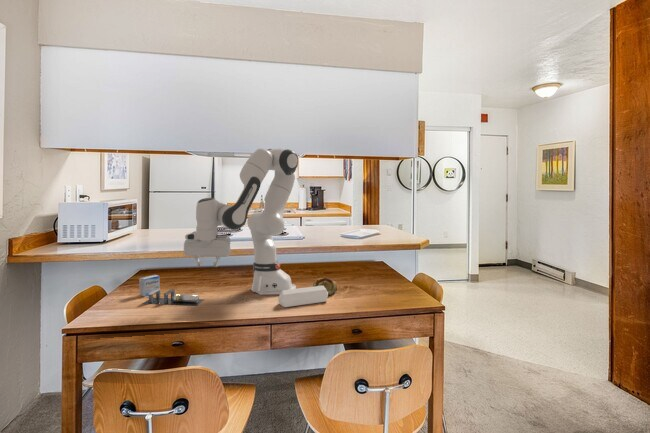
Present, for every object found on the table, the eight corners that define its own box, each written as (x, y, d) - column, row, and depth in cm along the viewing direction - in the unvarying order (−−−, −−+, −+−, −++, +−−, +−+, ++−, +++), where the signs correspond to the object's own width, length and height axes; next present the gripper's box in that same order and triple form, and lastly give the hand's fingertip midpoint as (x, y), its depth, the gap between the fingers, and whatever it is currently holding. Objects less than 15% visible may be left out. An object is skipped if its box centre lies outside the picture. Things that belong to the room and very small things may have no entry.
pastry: (317, 297, 171) (317, 281, 170) (307, 290, 182) (307, 275, 181) (343, 293, 177) (343, 278, 176) (332, 287, 188) (332, 272, 187)
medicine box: (145, 297, 168) (144, 279, 167) (139, 295, 170) (138, 277, 169) (160, 293, 174) (159, 275, 174) (154, 291, 177) (154, 274, 176)
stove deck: (204, 300, 164) (204, 289, 164) (196, 306, 156) (196, 295, 155) (152, 298, 166) (152, 287, 166) (141, 304, 158) (141, 293, 157)
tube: (199, 301, 162) (199, 293, 162) (196, 303, 159) (195, 296, 158) (175, 300, 163) (175, 293, 162) (172, 302, 159) (171, 295, 159)
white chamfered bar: (281, 301, 153) (332, 295, 162) (277, 289, 158) (327, 283, 168) (279, 313, 157) (329, 306, 166) (275, 301, 162) (323, 294, 172)
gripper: (232, 234, 159) (233, 265, 161) (188, 233, 161) (188, 263, 162) (227, 236, 153) (228, 268, 154) (181, 235, 155) (182, 266, 156)
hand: (207, 265), depth 158 cm, fingers open, 6 cm apart
